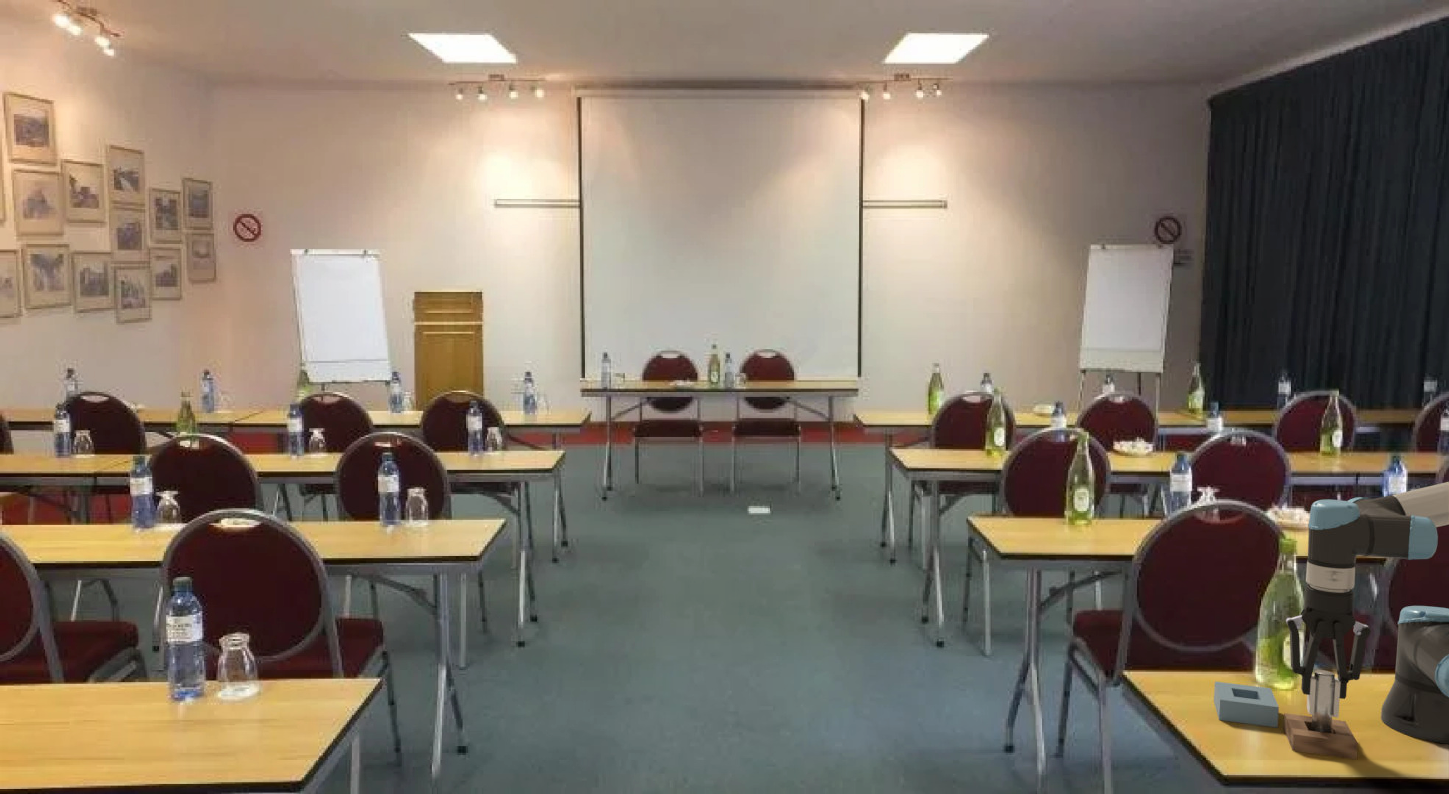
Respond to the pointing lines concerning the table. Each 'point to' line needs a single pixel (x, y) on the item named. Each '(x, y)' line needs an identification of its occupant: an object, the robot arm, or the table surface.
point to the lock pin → (1323, 701)
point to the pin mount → (1320, 737)
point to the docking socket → (1246, 704)
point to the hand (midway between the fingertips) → (1322, 713)
